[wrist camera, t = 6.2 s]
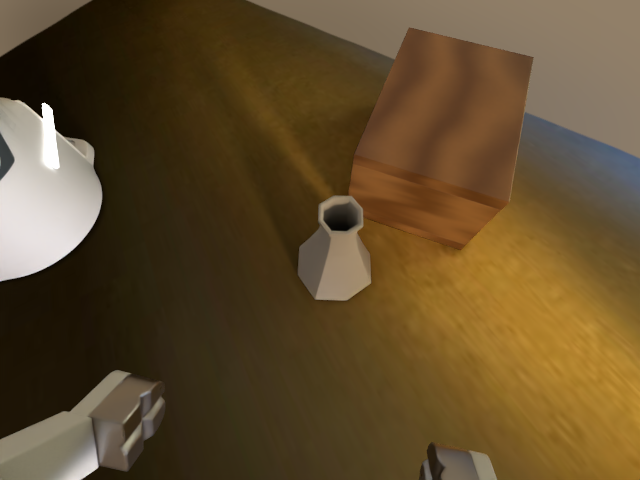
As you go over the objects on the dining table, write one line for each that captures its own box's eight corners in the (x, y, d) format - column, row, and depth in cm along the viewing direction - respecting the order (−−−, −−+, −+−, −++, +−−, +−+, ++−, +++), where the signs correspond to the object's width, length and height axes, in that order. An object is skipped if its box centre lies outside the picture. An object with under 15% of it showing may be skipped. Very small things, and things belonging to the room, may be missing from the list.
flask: (288, 242, 32) (276, 184, 23) (357, 224, 33) (372, 160, 24) (308, 312, 29) (303, 277, 20) (383, 290, 30) (411, 247, 21)
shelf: (345, 211, 34) (353, 154, 25) (390, 100, 40) (409, 27, 32) (460, 250, 32) (509, 202, 24) (488, 127, 38) (533, 57, 30)
